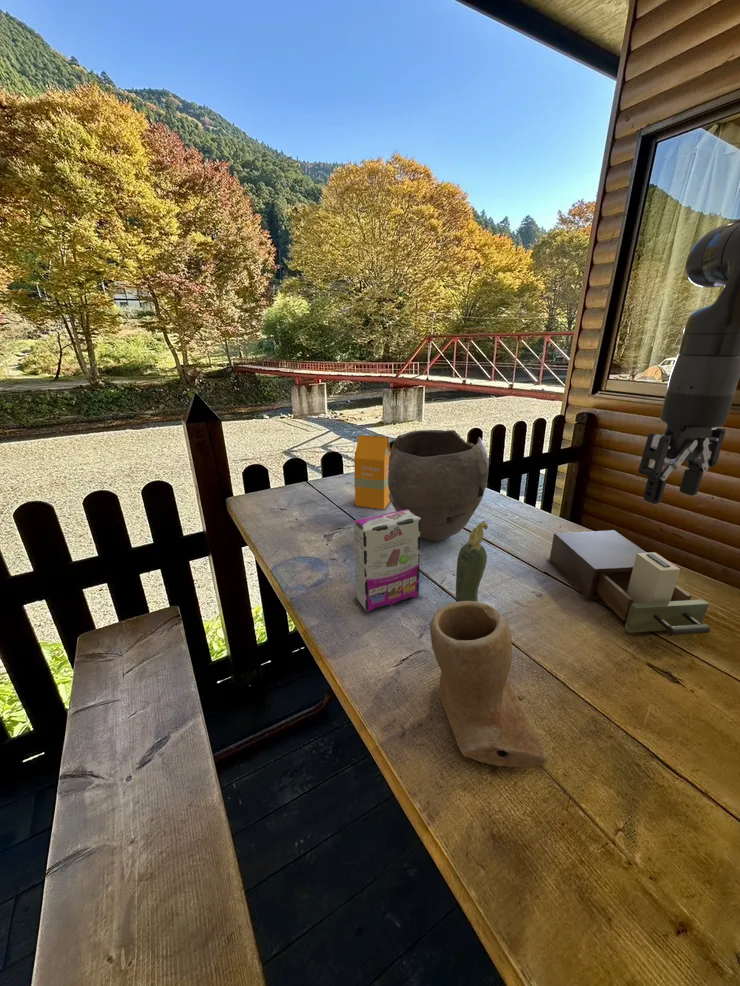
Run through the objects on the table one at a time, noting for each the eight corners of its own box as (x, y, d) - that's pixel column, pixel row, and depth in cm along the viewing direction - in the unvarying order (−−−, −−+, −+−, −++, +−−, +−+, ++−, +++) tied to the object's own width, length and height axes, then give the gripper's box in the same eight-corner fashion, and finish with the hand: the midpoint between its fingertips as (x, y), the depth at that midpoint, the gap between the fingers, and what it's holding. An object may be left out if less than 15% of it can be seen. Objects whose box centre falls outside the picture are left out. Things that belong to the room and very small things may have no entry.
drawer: (723, 645, 63) (733, 620, 62) (648, 651, 62) (655, 625, 61) (642, 582, 80) (648, 560, 78) (582, 585, 79) (586, 563, 77)
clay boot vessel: (418, 676, 59) (422, 588, 54) (498, 671, 60) (510, 584, 55) (444, 782, 45) (453, 678, 40) (548, 774, 46) (571, 670, 41)
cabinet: (656, 595, 77) (665, 565, 75) (588, 599, 76) (595, 569, 74) (608, 556, 91) (614, 530, 88) (549, 559, 90) (553, 532, 87)
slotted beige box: (643, 596, 74) (655, 550, 70) (666, 615, 69) (681, 567, 65) (625, 597, 74) (637, 551, 70) (647, 616, 68) (661, 568, 65)
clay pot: (490, 526, 105) (501, 430, 96) (466, 571, 85) (476, 456, 76) (404, 510, 116) (407, 422, 107) (365, 546, 96) (363, 442, 87)
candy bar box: (405, 583, 81) (408, 507, 76) (419, 597, 77) (422, 517, 71) (354, 598, 77) (352, 519, 71) (365, 613, 73) (364, 530, 67)
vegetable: (451, 635, 67) (460, 525, 60) (452, 619, 71) (461, 514, 64) (478, 639, 66) (491, 528, 59) (478, 622, 70) (490, 516, 63)
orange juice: (384, 509, 116) (384, 440, 109) (354, 505, 119) (353, 438, 112) (391, 499, 123) (392, 434, 116) (363, 496, 126) (362, 432, 118)
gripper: (697, 395, 51) (664, 514, 57) (762, 389, 56) (725, 499, 62) (639, 389, 57) (615, 496, 63) (702, 384, 63) (674, 483, 68)
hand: (669, 497), depth 63 cm, fingers open, 8 cm apart
